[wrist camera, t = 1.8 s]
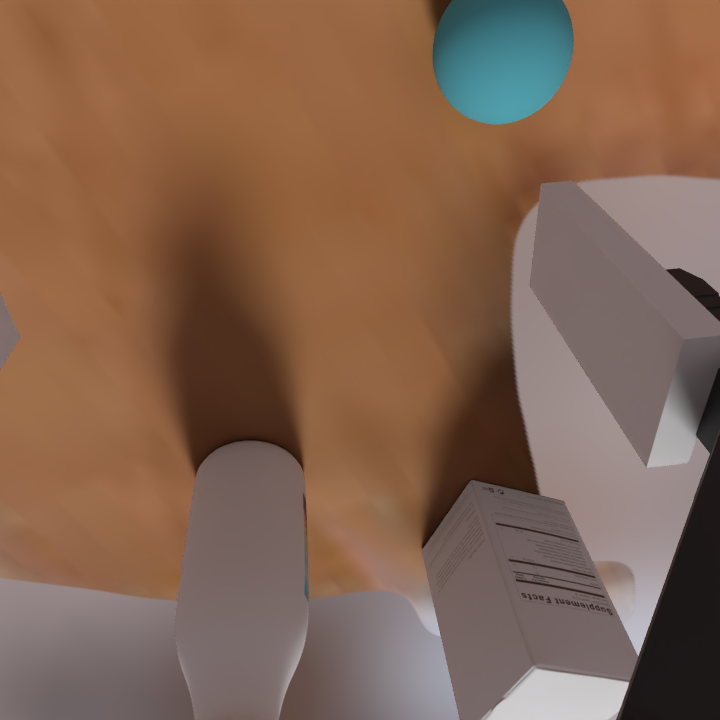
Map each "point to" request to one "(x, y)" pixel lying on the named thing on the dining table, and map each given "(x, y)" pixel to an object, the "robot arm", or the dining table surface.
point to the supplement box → (524, 611)
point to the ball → (502, 56)
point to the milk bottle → (243, 582)
